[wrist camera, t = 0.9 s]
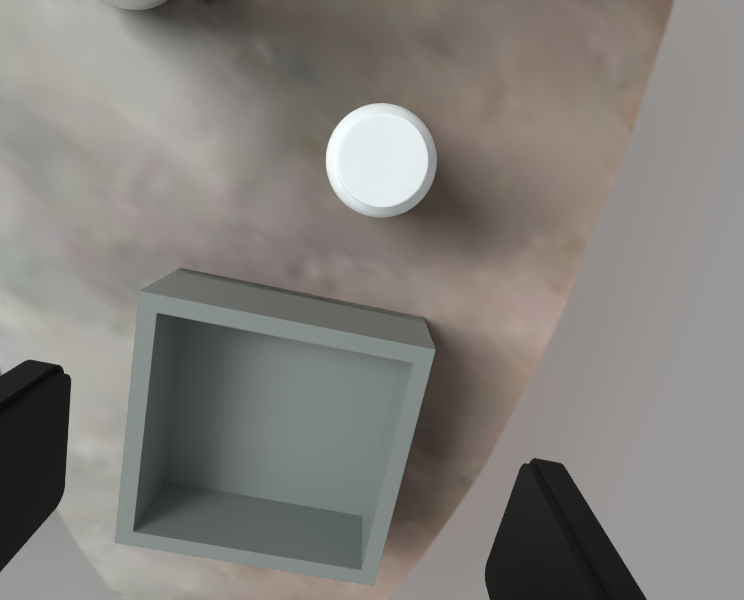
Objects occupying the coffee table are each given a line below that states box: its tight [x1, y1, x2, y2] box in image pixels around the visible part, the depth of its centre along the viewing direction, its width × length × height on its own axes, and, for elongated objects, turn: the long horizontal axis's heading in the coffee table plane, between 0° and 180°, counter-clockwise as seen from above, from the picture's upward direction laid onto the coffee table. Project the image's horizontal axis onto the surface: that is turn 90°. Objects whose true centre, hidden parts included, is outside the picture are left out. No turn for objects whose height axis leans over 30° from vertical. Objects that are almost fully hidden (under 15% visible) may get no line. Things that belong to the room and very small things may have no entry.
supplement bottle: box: [326, 103, 437, 218], centre depth 26 cm, size 5×5×10 cm
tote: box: [115, 268, 436, 586], centre depth 32 cm, size 16×16×6 cm
